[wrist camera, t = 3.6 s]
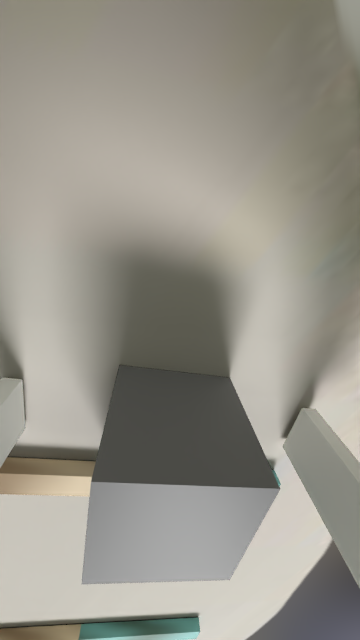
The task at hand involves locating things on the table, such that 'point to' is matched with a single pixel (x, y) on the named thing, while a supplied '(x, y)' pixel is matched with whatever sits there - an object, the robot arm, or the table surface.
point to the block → (174, 481)
